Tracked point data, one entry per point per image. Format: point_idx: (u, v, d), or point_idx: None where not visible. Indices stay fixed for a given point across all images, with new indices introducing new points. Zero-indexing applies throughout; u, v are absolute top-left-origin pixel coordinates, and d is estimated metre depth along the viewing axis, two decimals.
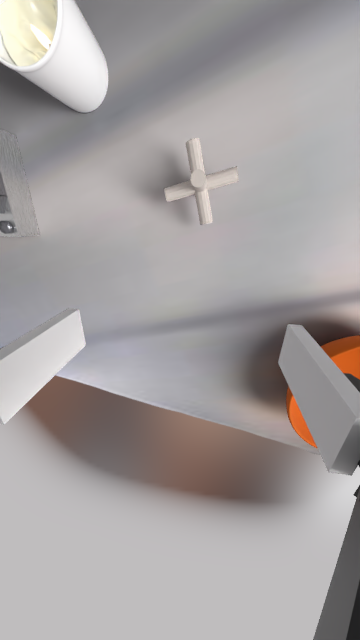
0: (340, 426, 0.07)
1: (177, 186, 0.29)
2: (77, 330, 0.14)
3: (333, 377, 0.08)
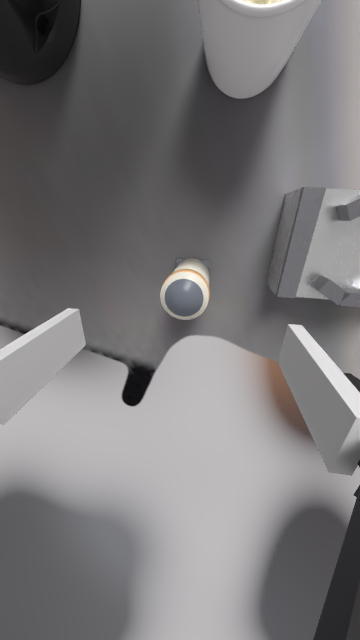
0: (340, 426, 0.07)
1: None
2: (77, 330, 0.14)
3: (333, 377, 0.08)
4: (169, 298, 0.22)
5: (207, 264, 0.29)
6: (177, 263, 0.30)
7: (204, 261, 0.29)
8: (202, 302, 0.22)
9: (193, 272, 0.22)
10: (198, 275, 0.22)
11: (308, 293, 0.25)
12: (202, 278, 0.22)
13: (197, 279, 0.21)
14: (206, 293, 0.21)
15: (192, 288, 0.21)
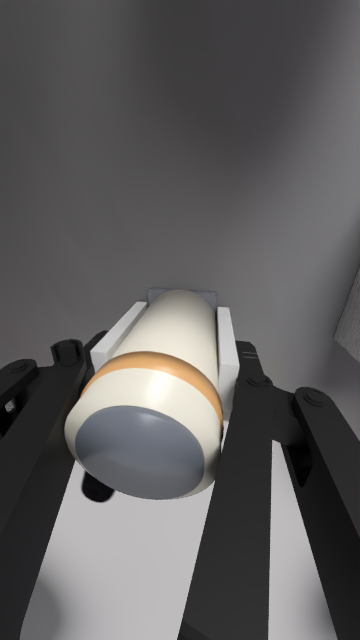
0: (218, 374, 0.09)
1: None
2: None
3: (224, 341, 0.10)
4: (92, 456, 0.07)
5: (211, 301, 0.14)
6: (150, 299, 0.15)
7: (205, 295, 0.14)
8: (201, 474, 0.06)
9: (169, 371, 0.07)
10: (186, 382, 0.06)
11: None
12: (199, 389, 0.07)
13: (180, 410, 0.06)
14: (214, 450, 0.06)
15: (163, 439, 0.06)
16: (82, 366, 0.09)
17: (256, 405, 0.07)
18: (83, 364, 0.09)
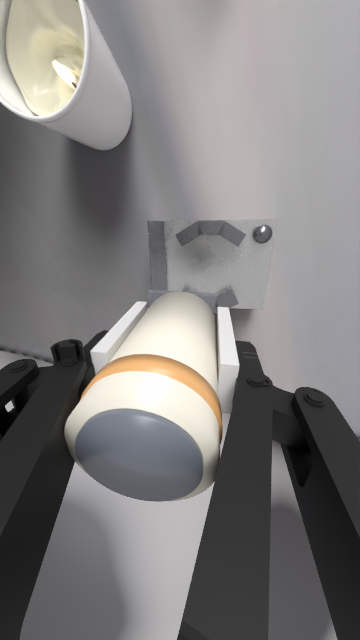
0: (218, 374, 0.09)
1: None
2: None
3: (224, 341, 0.10)
4: (91, 458, 0.07)
5: (211, 303, 0.14)
6: (150, 301, 0.15)
7: (204, 297, 0.14)
8: None
9: (168, 374, 0.07)
10: (185, 385, 0.06)
11: None
12: (198, 392, 0.07)
13: (179, 413, 0.06)
14: (213, 452, 0.06)
15: (163, 442, 0.06)
16: (82, 366, 0.09)
17: (256, 405, 0.07)
18: (83, 364, 0.09)
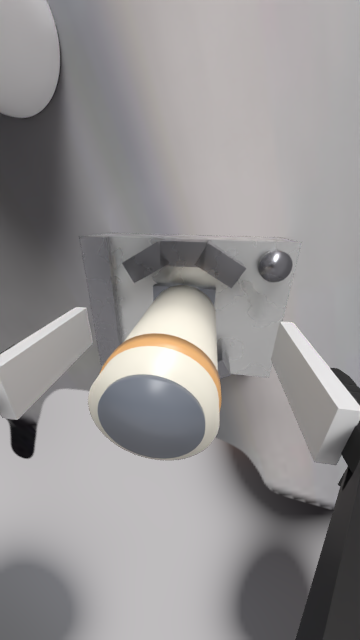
0: (324, 417, 0.07)
1: None
2: (85, 328, 0.14)
3: (319, 371, 0.08)
4: (111, 419, 0.08)
5: (211, 296, 0.15)
6: (155, 294, 0.16)
7: (205, 290, 0.15)
8: (202, 433, 0.08)
9: (176, 348, 0.08)
10: (190, 357, 0.08)
11: None
12: (201, 364, 0.08)
13: (186, 377, 0.07)
14: (213, 412, 0.07)
15: (172, 402, 0.07)
16: None
17: None
18: None
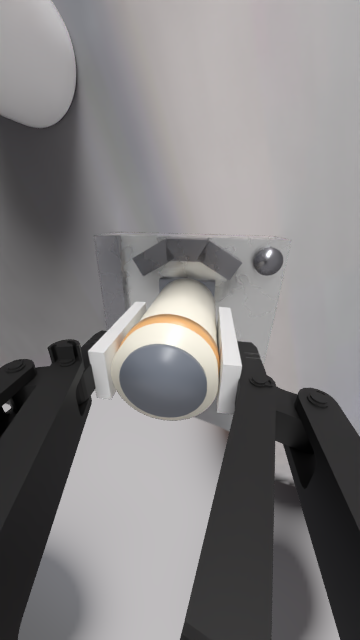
0: (220, 375, 0.09)
1: None
2: None
3: (226, 341, 0.10)
4: (130, 383, 0.10)
5: (211, 288, 0.17)
6: (161, 287, 0.18)
7: (206, 283, 0.17)
8: (205, 393, 0.10)
9: (183, 325, 0.10)
10: (194, 331, 0.10)
11: None
12: (203, 337, 0.10)
13: (192, 346, 0.09)
14: (213, 375, 0.09)
15: (180, 366, 0.09)
16: (80, 366, 0.09)
17: (259, 406, 0.07)
18: (81, 364, 0.09)
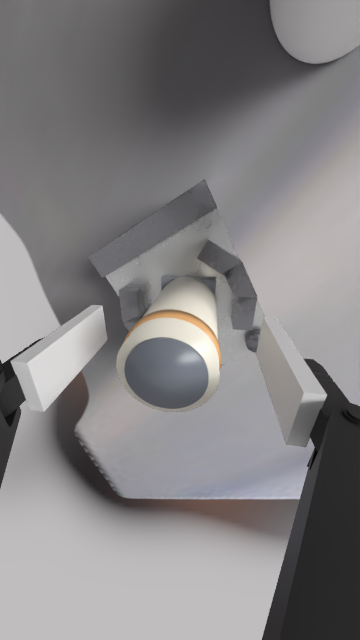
0: (294, 402, 0.08)
1: None
2: (101, 325, 0.14)
3: (292, 361, 0.09)
4: (135, 375, 0.10)
5: (212, 286, 0.18)
6: (163, 284, 0.18)
7: (207, 281, 0.18)
8: (206, 385, 0.10)
9: (185, 319, 0.10)
10: (196, 326, 0.10)
11: (119, 288, 0.20)
12: (205, 331, 0.10)
13: (194, 339, 0.09)
14: (215, 367, 0.10)
15: (183, 358, 0.09)
16: (0, 375, 0.08)
17: (357, 447, 0.06)
18: (1, 372, 0.08)
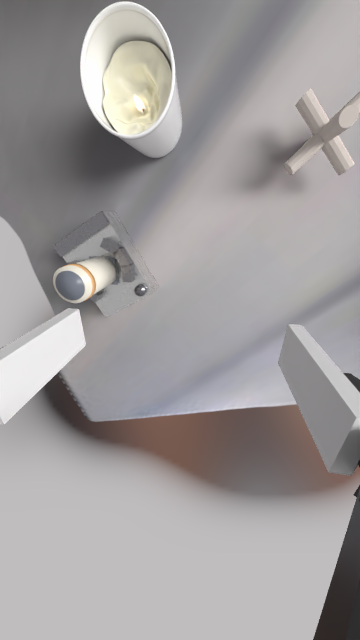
0: (340, 426, 0.07)
1: (301, 151, 0.27)
2: (77, 330, 0.14)
3: (333, 377, 0.08)
4: (59, 286, 0.28)
5: (113, 260, 0.36)
6: None
7: (110, 258, 0.36)
8: (84, 288, 0.28)
9: (77, 265, 0.28)
10: (80, 268, 0.28)
11: None
12: (84, 270, 0.28)
13: (76, 271, 0.28)
14: (85, 281, 0.28)
15: (73, 278, 0.28)
16: None
17: None
18: None
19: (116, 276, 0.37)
